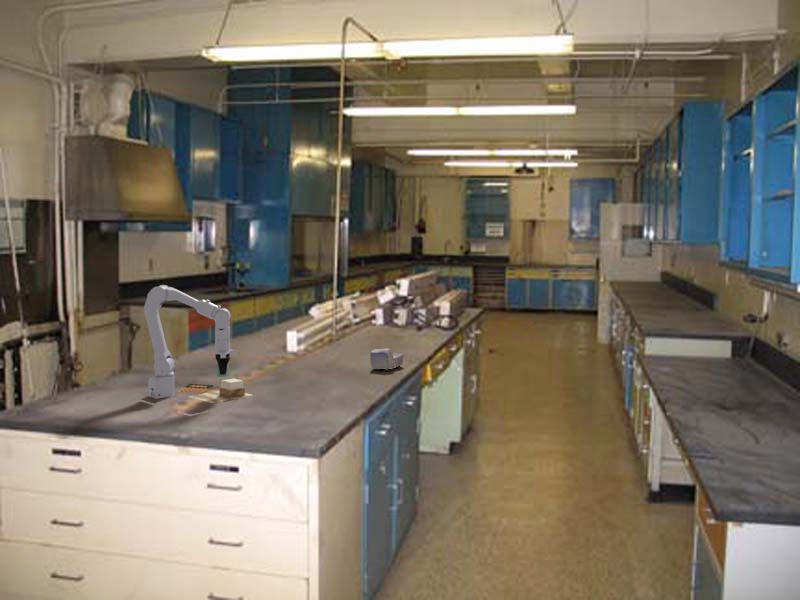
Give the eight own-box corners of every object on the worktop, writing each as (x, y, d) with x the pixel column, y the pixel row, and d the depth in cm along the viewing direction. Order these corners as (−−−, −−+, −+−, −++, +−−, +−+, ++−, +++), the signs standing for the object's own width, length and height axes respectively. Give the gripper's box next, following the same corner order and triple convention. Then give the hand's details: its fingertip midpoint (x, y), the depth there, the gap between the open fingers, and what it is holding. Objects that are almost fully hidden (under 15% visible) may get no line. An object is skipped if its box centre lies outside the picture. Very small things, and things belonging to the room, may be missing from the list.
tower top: (230, 390, 297) (230, 382, 297) (221, 387, 301) (221, 380, 301) (242, 388, 302) (242, 380, 302) (233, 385, 306) (233, 378, 305)
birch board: (212, 405, 288) (212, 403, 288) (187, 398, 298) (187, 396, 298) (253, 397, 303) (253, 395, 303) (229, 390, 314) (229, 388, 313)
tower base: (230, 398, 297) (230, 390, 297) (219, 395, 301) (219, 387, 301) (244, 395, 302) (244, 388, 302) (233, 392, 307) (233, 385, 306)
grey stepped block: (367, 348, 364) (380, 343, 383) (367, 370, 364) (380, 364, 383) (393, 350, 360) (405, 345, 379) (393, 372, 360) (405, 366, 380)
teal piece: (221, 377, 297) (221, 365, 297) (214, 375, 300) (214, 364, 300) (230, 375, 300) (230, 364, 300) (223, 374, 303) (223, 362, 303)
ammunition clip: (213, 385, 314) (200, 392, 303) (213, 389, 315) (200, 396, 303) (189, 383, 316) (175, 390, 305) (189, 387, 317) (175, 395, 305)
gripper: (233, 341, 293) (233, 376, 294) (232, 336, 307) (232, 369, 308) (214, 342, 291) (215, 376, 292) (214, 336, 305) (214, 370, 306)
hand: (222, 373), depth 300 cm, fingers closed on teal piece, 4 cm apart
